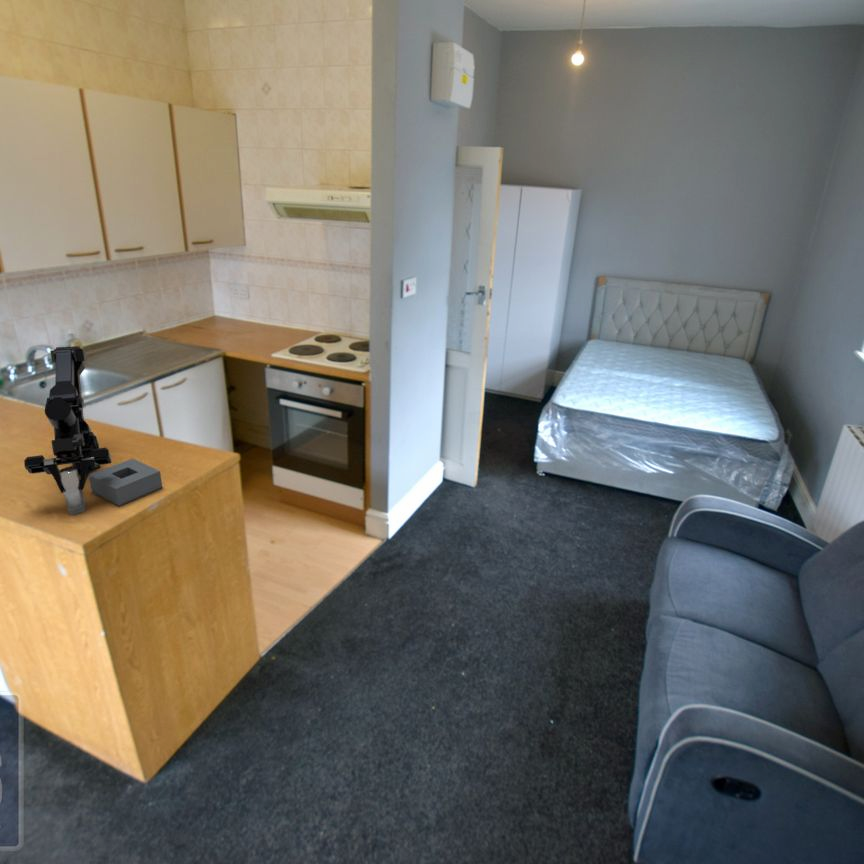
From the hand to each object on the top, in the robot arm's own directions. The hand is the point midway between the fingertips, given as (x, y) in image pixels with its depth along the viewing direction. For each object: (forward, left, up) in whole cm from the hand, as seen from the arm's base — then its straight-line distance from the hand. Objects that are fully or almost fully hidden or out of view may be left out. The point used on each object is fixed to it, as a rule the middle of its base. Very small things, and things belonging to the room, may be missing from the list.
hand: (72, 491), depth 148 cm
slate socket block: (-1, +15, -7) cm, 16 cm away
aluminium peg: (-1, +1, -7) cm, 7 cm away
